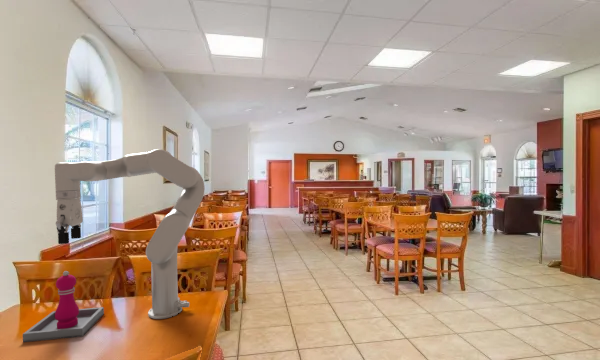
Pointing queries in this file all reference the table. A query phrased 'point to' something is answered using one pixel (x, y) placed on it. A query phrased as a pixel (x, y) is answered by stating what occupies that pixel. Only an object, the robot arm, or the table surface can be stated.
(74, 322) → the pepper mill
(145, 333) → the table surface
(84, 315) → the serving tray
